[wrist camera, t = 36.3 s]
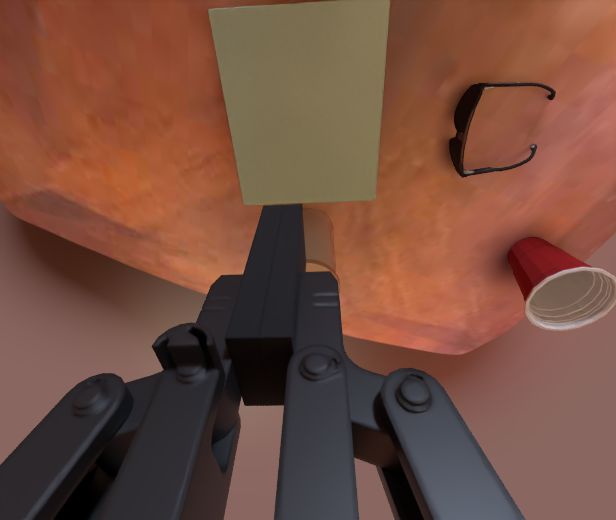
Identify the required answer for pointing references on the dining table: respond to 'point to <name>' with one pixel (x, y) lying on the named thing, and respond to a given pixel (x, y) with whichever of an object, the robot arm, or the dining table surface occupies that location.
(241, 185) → the box lid
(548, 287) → the plastic cup
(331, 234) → the canister
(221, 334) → the robot arm
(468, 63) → the dining table surface
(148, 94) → the dining table surface
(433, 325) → the dining table surface
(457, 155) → the sunglasses
